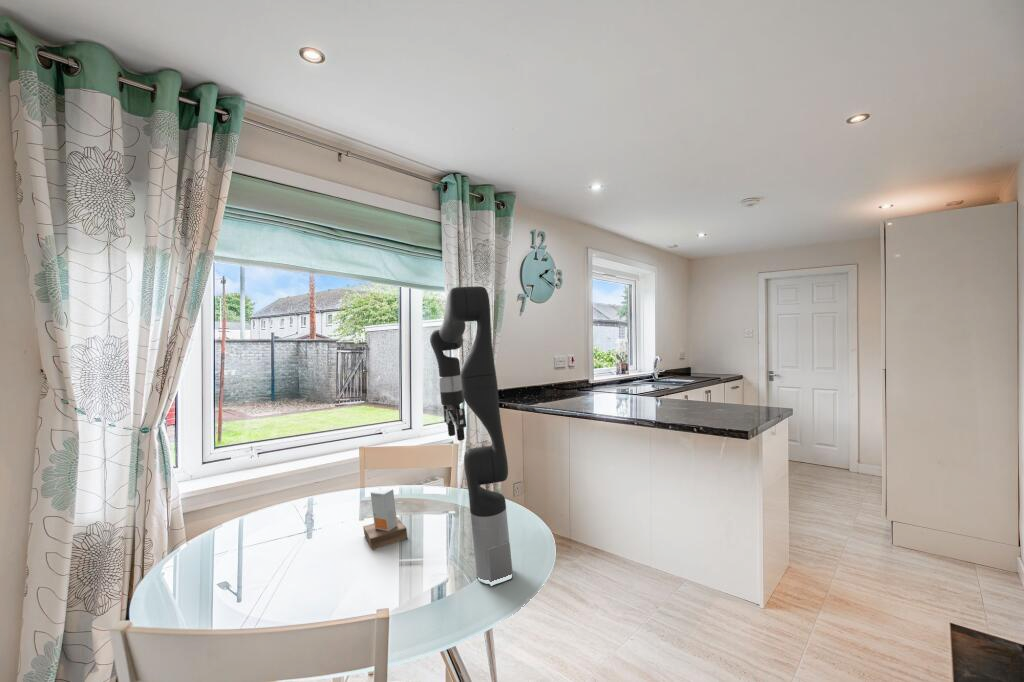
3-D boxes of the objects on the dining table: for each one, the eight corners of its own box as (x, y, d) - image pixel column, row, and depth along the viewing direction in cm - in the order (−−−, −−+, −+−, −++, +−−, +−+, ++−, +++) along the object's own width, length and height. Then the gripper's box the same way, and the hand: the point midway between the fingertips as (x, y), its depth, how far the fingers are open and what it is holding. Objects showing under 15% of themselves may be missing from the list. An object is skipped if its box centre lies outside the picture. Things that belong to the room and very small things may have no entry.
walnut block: (407, 540, 144) (406, 527, 143) (372, 551, 138) (370, 538, 138) (398, 528, 153) (397, 516, 153) (364, 538, 148) (363, 526, 148)
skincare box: (374, 529, 144) (369, 492, 144) (384, 523, 148) (379, 487, 148) (388, 532, 141) (384, 494, 141) (398, 525, 145) (393, 488, 145)
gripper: (470, 389, 146) (475, 439, 147) (454, 386, 159) (459, 432, 159) (447, 393, 143) (453, 444, 143) (433, 389, 155) (438, 436, 156)
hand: (456, 437), depth 151 cm, fingers open, 8 cm apart
